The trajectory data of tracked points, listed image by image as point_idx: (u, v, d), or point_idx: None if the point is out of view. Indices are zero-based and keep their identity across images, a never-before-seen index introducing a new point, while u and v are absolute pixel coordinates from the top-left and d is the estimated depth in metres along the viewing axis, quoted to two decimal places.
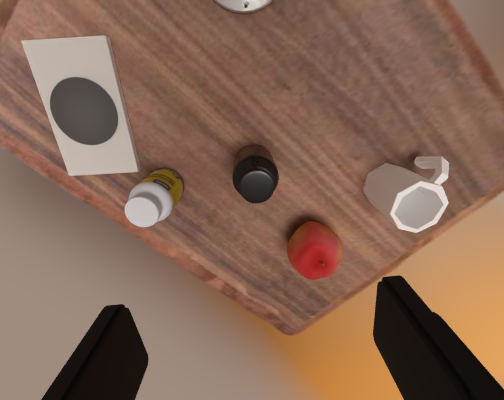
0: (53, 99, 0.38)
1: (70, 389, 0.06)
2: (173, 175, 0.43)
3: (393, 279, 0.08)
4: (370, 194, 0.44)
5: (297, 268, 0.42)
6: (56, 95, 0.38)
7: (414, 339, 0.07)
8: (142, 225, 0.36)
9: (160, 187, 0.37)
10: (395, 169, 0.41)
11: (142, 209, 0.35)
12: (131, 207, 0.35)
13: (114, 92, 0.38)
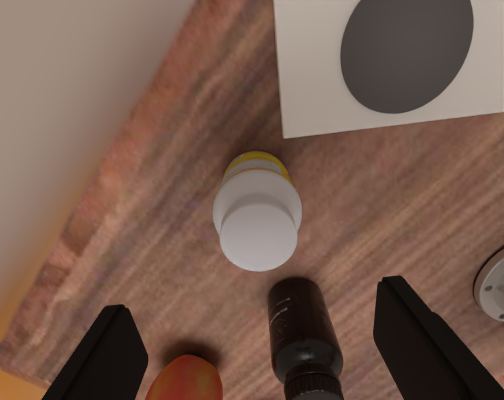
0: None
1: (70, 389, 0.06)
2: None
3: (393, 279, 0.08)
4: None
5: None
6: None
7: (414, 339, 0.07)
8: (224, 238, 0.15)
9: None
10: None
11: (266, 242, 0.15)
12: (271, 220, 0.14)
13: (427, 113, 0.22)
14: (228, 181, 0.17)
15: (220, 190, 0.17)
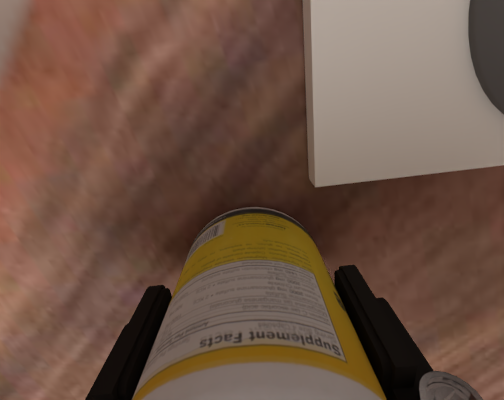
0: None
1: (132, 354, 0.07)
2: None
3: (347, 268, 0.09)
4: None
5: None
6: None
7: (356, 320, 0.08)
8: None
9: None
10: None
11: None
12: None
13: None
14: None
15: None
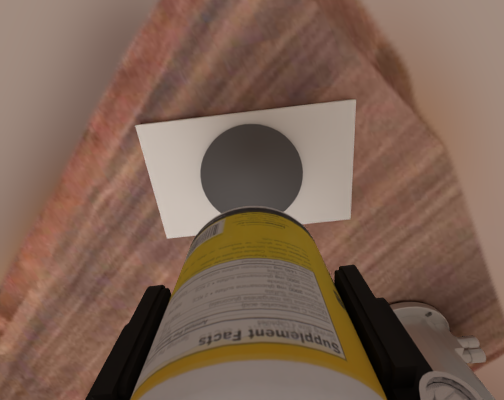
0: (270, 133, 0.23)
1: (132, 354, 0.07)
2: None
3: (346, 268, 0.09)
4: None
5: None
6: (276, 140, 0.23)
7: (356, 319, 0.08)
8: None
9: None
10: None
11: None
12: None
13: None
14: None
15: None
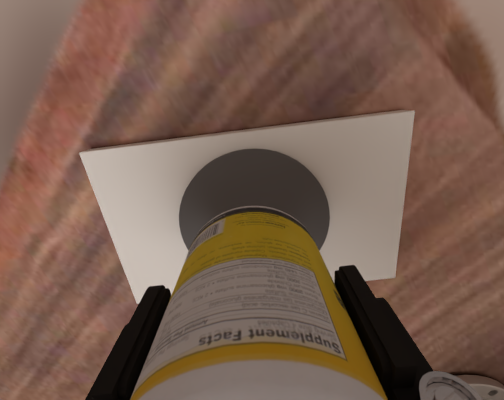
0: (282, 162, 0.15)
1: (132, 354, 0.07)
2: None
3: (346, 268, 0.09)
4: None
5: None
6: (291, 173, 0.15)
7: (356, 319, 0.08)
8: None
9: None
10: None
11: None
12: None
13: None
14: None
15: None
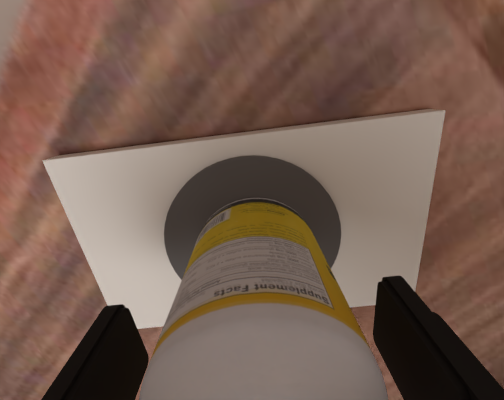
0: (285, 172, 0.13)
1: (70, 389, 0.06)
2: None
3: (393, 279, 0.08)
4: None
5: None
6: (296, 184, 0.13)
7: (414, 339, 0.07)
8: None
9: None
10: None
11: None
12: None
13: None
14: (177, 340, 0.06)
15: (155, 363, 0.06)
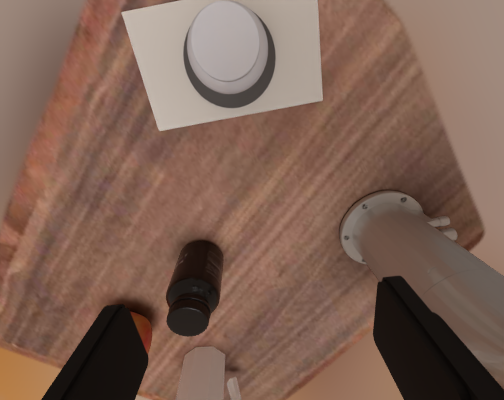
0: None
1: (70, 389, 0.06)
2: None
3: (393, 279, 0.08)
4: (195, 363, 0.45)
5: None
6: None
7: (414, 339, 0.07)
8: (195, 42, 0.17)
9: None
10: (223, 373, 0.46)
11: (232, 45, 0.17)
12: (235, 19, 0.16)
13: (260, 105, 0.30)
14: (198, 13, 0.19)
15: (192, 22, 0.19)
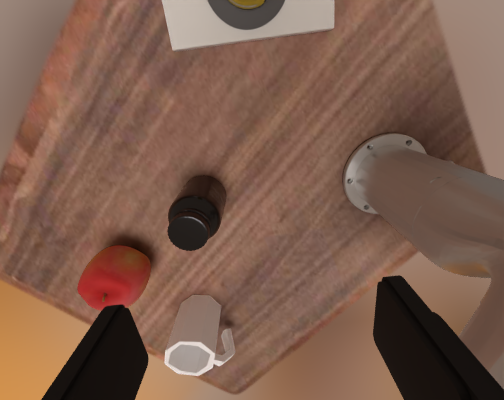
0: None
1: (70, 389, 0.06)
2: None
3: (393, 279, 0.08)
4: (191, 307, 0.45)
5: (88, 275, 0.35)
6: None
7: (414, 339, 0.07)
8: None
9: None
10: (218, 320, 0.46)
11: None
12: None
13: (273, 29, 0.31)
14: None
15: None
